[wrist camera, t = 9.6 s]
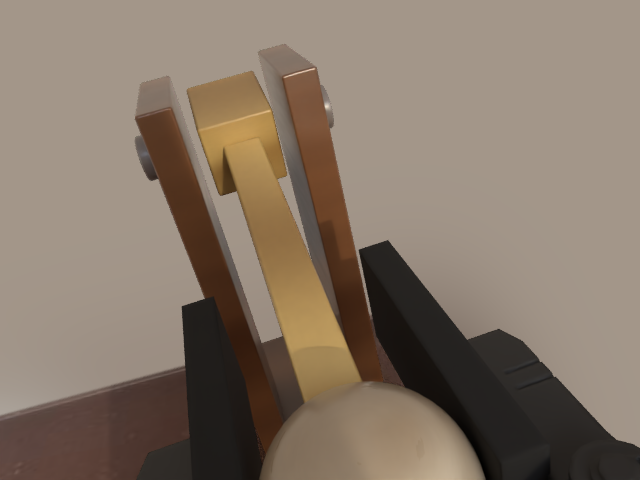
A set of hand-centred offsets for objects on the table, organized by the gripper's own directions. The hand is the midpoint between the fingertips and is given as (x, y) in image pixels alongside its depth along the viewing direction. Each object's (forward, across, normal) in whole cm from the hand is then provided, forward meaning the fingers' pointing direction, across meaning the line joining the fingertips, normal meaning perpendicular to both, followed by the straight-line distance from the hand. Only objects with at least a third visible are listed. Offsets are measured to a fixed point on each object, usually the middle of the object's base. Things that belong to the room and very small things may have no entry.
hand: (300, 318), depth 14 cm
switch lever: (+1, 0, 0) cm, 1 cm away
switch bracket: (+6, 0, -13) cm, 14 cm away
